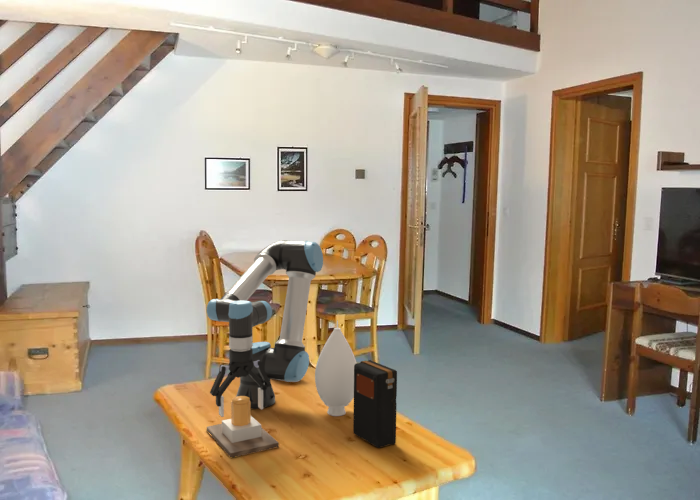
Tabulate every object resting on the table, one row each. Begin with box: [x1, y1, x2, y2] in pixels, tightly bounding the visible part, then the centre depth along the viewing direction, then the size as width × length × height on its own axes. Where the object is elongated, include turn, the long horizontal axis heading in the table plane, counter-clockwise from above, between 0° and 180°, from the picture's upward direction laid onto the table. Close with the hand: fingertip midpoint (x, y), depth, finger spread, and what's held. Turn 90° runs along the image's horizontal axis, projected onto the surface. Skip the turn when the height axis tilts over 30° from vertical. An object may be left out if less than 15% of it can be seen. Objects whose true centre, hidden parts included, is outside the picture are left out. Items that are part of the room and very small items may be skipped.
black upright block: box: [352, 359, 398, 449], centre depth 196 cm, size 16×9×25 cm, turn 35°
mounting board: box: [206, 423, 280, 458], centre depth 196 cm, size 16×24×2 cm, turn 31°
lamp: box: [314, 319, 358, 417], centre depth 219 cm, size 16×16×35 cm
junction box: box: [221, 415, 262, 443], centre depth 196 cm, size 10×10×9 cm
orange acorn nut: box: [230, 396, 252, 426], centre depth 196 cm, size 6×6×8 cm
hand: (241, 411), depth 195 cm, fingers open, 13 cm apart
